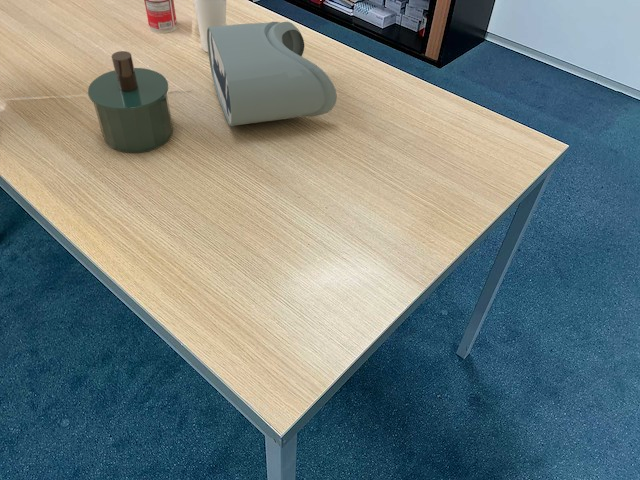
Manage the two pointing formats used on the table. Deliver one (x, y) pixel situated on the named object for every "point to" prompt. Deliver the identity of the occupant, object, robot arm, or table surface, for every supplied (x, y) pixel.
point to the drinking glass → (209, 17)
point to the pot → (136, 127)
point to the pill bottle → (161, 15)
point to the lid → (127, 86)
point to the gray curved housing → (266, 73)
